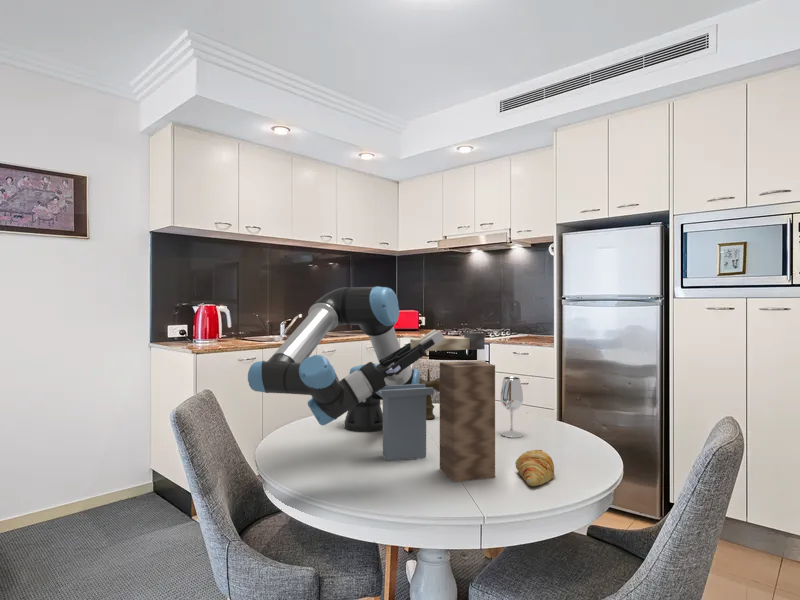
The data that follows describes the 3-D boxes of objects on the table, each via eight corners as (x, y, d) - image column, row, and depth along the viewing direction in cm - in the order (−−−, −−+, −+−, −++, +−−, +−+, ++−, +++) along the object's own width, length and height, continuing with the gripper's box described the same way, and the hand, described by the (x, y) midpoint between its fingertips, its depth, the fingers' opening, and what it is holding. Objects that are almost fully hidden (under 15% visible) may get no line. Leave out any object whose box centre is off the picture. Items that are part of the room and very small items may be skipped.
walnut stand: (453, 481, 129) (453, 367, 129) (439, 469, 139) (439, 362, 139) (495, 477, 133) (495, 365, 133) (478, 465, 142) (478, 360, 142)
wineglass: (521, 432, 178) (521, 376, 177) (524, 438, 170) (524, 380, 170) (499, 431, 178) (499, 376, 178) (501, 437, 171) (501, 379, 170)
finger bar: (414, 351, 129) (414, 334, 129) (409, 350, 133) (409, 333, 133) (484, 349, 135) (484, 333, 135) (477, 347, 139) (477, 332, 139)
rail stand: (382, 462, 144) (382, 390, 144) (375, 454, 152) (375, 386, 152) (433, 457, 149) (433, 388, 149) (424, 450, 157) (424, 383, 157)
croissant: (543, 505, 124) (559, 478, 122) (507, 482, 126) (522, 456, 125) (547, 474, 144) (561, 451, 142) (516, 455, 146) (529, 432, 145)
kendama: (417, 416, 202) (417, 367, 202) (441, 417, 200) (441, 367, 200) (415, 419, 196) (415, 369, 196) (439, 420, 194) (439, 369, 194)
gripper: (365, 388, 136) (435, 343, 142) (381, 399, 120) (458, 348, 126) (352, 365, 134) (422, 320, 140) (365, 373, 119) (444, 323, 125)
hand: (439, 334), depth 133 cm, fingers closed on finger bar, 3 cm apart
